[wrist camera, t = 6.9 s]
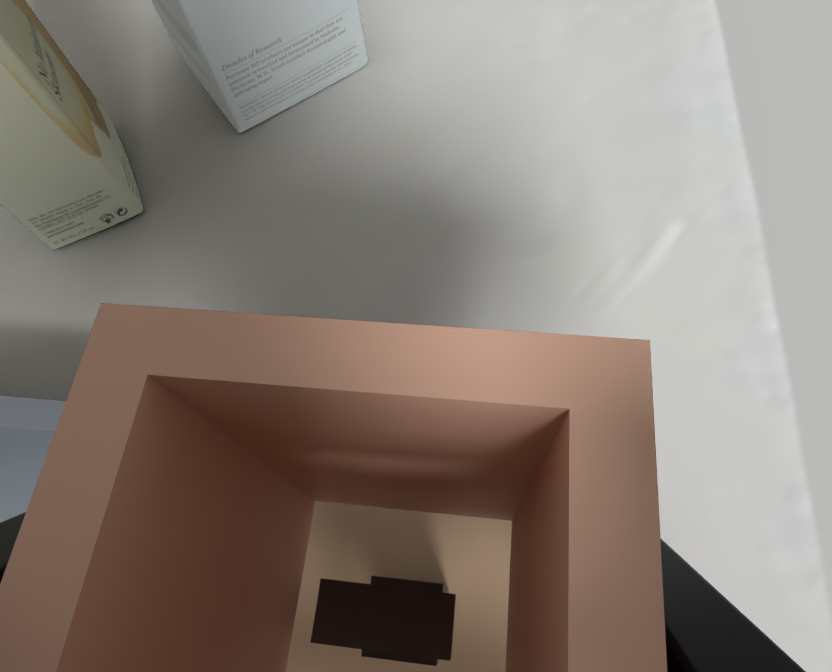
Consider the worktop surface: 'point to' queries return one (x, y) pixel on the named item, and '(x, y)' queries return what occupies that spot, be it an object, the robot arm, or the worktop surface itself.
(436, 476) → the terracotta collar
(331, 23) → the supplement box
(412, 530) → the walnut base
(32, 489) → the charcoal tray
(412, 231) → the worktop surface
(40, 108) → the skincare box
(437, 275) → the worktop surface
